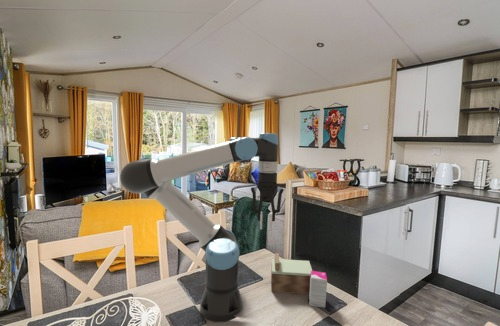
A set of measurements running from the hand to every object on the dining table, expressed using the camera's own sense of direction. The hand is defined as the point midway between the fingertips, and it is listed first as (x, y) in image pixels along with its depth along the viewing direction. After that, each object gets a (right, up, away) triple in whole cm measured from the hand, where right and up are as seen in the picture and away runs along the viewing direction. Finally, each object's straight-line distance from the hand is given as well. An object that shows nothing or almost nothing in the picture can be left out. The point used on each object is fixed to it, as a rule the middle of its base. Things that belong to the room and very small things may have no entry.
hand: (265, 228), depth 106 cm
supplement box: (+19, -26, -9) cm, 33 cm away
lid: (+11, -17, +1) cm, 20 cm away
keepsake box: (+10, -25, +1) cm, 27 cm away
